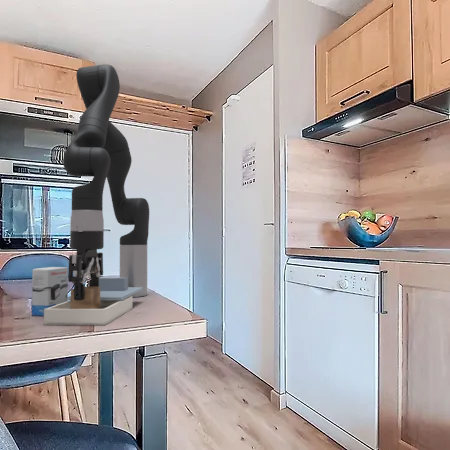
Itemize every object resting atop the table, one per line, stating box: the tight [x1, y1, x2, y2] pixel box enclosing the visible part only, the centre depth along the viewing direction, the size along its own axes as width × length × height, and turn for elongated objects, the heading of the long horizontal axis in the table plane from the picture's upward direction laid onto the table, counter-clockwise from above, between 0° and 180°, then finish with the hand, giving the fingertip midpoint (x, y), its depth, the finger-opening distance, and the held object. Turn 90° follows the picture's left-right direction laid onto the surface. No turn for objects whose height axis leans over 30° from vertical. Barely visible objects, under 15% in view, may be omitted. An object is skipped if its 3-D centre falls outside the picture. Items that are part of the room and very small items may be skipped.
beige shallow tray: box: [43, 296, 134, 326], centre depth 93 cm, size 20×14×4 cm
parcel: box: [70, 286, 100, 309], centre depth 89 cm, size 5×5×7 cm
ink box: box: [31, 266, 69, 317], centre depth 98 cm, size 8×5×12 cm, turn 168°
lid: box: [67, 277, 143, 301], centre depth 104 cm, size 20×14×4 cm
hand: (87, 297), depth 89 cm, fingers open, 8 cm apart
